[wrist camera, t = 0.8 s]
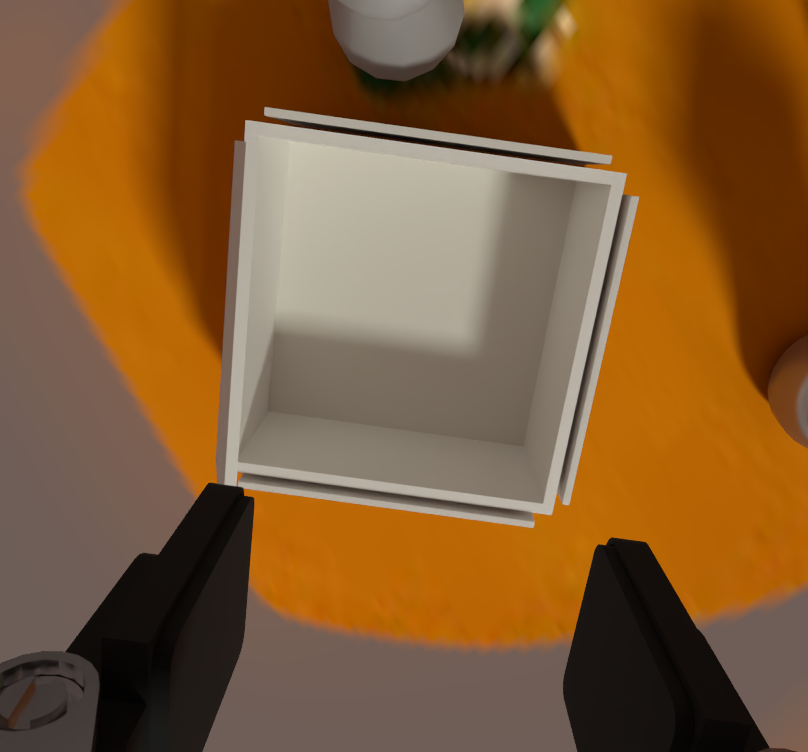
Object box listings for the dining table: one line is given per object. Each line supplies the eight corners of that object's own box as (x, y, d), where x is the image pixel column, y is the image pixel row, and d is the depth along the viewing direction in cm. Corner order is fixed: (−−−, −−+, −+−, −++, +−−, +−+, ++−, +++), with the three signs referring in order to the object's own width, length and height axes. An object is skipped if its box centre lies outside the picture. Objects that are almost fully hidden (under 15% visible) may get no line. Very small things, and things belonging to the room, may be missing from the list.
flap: (245, 141, 26) (234, 140, 26) (259, 143, 21) (246, 141, 20) (225, 459, 30) (216, 459, 30) (232, 537, 25) (220, 537, 24)
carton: (283, 117, 33) (243, 104, 26) (600, 162, 33) (647, 160, 26) (258, 425, 38) (220, 485, 31) (537, 464, 38) (562, 532, 31)
